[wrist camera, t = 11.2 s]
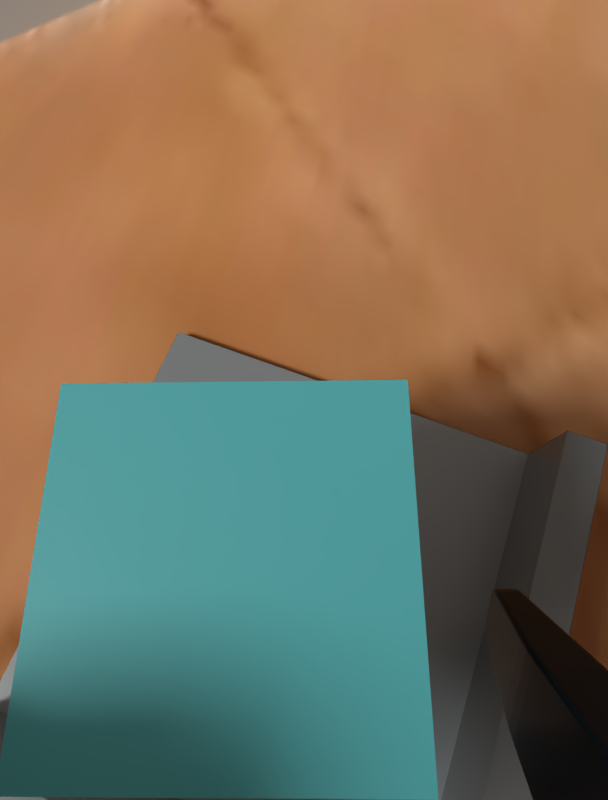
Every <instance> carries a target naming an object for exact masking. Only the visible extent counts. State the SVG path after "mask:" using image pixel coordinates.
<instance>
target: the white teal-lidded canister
mask: <svg viewBox="0 0 608 800" xmlns="http://www.w3.org/2000/svg"><path fill="white" fill-rule="evenodd" d="M0 797H114V798H266V799H418V800H439V799H438V785H437V772H436V758H435V744H434V731H433V717H432V704H431V690H430V676H429V663H428V649H427V635H426V622H425V608H424V594H423V581H422V567H421V554H420V540H419V526H418V513H417V499H416V485H415V472H414V458H413V445H412V431H411V417H410V404H409V390H408V380H348V381H255V382H162V383H68V384H61V388H60V394H59V400H58V407H57V413H56V419H55V425H54V431H53V437H52V443H51V450H50V456H49V462H48V468H47V474H46V480H45V486H44V493H43V499H42V505H41V511H40V517H39V523H38V529H37V536H36V542H35V548H34V554H33V560H32V566H31V573H30V579H29V585H28V591H27V597H26V603H25V609H24V616H23V622H22V628H21V634H20V640H19V646H18V652H17V659H16V665H15V671H14V677H13V683H12V689H11V696H10V702H9V708H8V714H7V720H6V726H5V732H4V739H3V745H2V751H1V757H0Z"/></svg>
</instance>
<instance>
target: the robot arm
mask: <svg viewBox="0 0 608 800" xmlns="http://www.w3.org/2000/svg"><path fill="white" fill-rule="evenodd" d="M485 627H486V636H487V640H488V644H489V649H490V653H491V657H492V661H493V666H494V670H495V674H496V678H497V683H498V687H499V691H500V696H501V700H502V704H503V708H504V712H505V716H506V720H507V724H508V728H509V731H510V734H511V737H512V740H513V743H514V746H515V749H516V752H517V755H518V758H519V761H520V764H521V767H522V769H523V772H524V775H525V778H526V781H527V784H528V787H529V790H530V793H531V796H532V798H533V800H608V670H607V669H606V668H605V667H604V666H603V665H602V664H600V663H599V662H598V661H597V660H596V659H595V658H594V657H593V656H592V655H590V654H589V653H588V652H587V651H586V650H585V649H584V648H583V647H582V646H580V645H579V644H578V643H577V642H576V641H575V640H574V639H573V638H572V637H571V636H569V635H568V634H567V633H566V632H565V631H564V630H563V629H562V628H561V627H559V626H558V625H557V624H556V623H555V622H554V621H553V620H552V619H551V618H549V617H548V616H547V615H546V614H545V613H544V612H543V611H542V610H541V609H540V608H538V607H537V606H536V605H535V604H534V603H533V602H532V601H531V600H530V599H528V598H527V597H526V596H525V595H524V594H523V593H522V592H521V591H519V590H517V589H515V588H496V589H493V591H492V592H491V595H490V600H489V606H488V611H487V617H486V624H485Z"/></svg>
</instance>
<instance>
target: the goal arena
mask: <svg viewBox="0 0 608 800" xmlns="http://www.w3.org/2000/svg"><path fill="white" fill-rule="evenodd" d="M255 381H317V380H314V379H311V378H308V377H306V376H303V375H300V374H297V373H294V372H291V371H288V370H286V369H283V368H280V367H277V366H274V365H271V364H268V363H266V362H263V361H260V360H257V359H254V358H251V357H248V356H245V355H243V354H240V353H237V352H234V351H231V350H228V349H225V348H223V347H220V346H217V345H214V344H211V343H208V342H205V341H203V340H200V339H197V338H194V337H191V336H188V335H185V334H182V333H180V332H178V334H177V336H176V338H175V340H174V342H173V344H172V346H171V348H170V350H169V352H168V354H167V356H166V358H165V360H164V362H163V364H162V366H161V368H160V370H159V372H158V374H157V375H156V377H155V379H154V381H153V383H162V382H255ZM410 417H411V431H412V445H413V458H414V472H415V485H416V499H417V513H418V526H419V540H420V554H421V567H422V581H423V594H424V608H425V622H426V635H427V649H428V663H429V676H430V690H431V704H432V717H433V731H434V744H435V758H436V772H437V785H438V799H439V800H533V798H532V796H531V793H530V790H529V787H528V784H527V781H526V778H525V775H524V772H523V769H522V767H521V764H520V761H519V758H518V755H517V752H516V749H515V746H514V743H513V740H512V737H511V734H510V731H509V728H508V724H507V720H506V716H505V712H504V708H503V704H502V700H501V696H500V691H499V687H498V683H497V678H496V674H495V670H494V666H493V661H492V657H491V653H490V649H489V644H488V640H487V636H486V627H485V624H486V617H487V611H488V606H489V600H490V595H491V592H492V591H493V589H496V588H515V589H517V590H519V591H521V592H522V593H523V594H524V595H525V596H526V597H527V598H528V599H530V600H531V601H532V602H533V603H534V604H535V605H536V606H537V607H538V608H540V609H541V610H542V611H543V612H544V613H545V614H546V615H547V616H548V617H549V618H551V619H552V620H553V621H554V622H555V623H556V624H557V625H558V626H559V627H561V628H562V629H563V630H564V631H565V632H566V633H567V634H568V635H569V633H570V629H571V624H572V619H573V614H574V609H575V604H576V599H577V594H578V589H579V584H580V579H581V574H582V569H583V564H584V559H585V554H586V549H587V544H588V539H589V534H590V529H591V525H592V520H593V515H594V510H595V505H596V500H597V495H598V490H599V485H600V480H601V475H602V470H603V465H604V460H605V455H606V450H607V445H608V444H605V443H602V442H599V441H596V440H593V439H590V438H587V437H584V436H581V435H578V434H575V433H572V432H569V431H567V432H565V433H563V434H561V435H560V436H558V437H556V438H555V439H553V440H551V441H550V442H548V443H546V444H544V445H543V446H541V447H539V448H538V449H536V450H534V451H533V452H531V453H529V454H526V453H523V452H520V451H517V450H515V449H512V448H509V447H506V446H503V445H500V444H497V443H495V442H492V441H489V440H486V439H483V438H480V437H477V436H474V435H472V434H469V433H466V432H463V431H460V430H457V429H454V428H452V427H449V426H446V425H443V424H440V423H437V422H434V421H432V420H429V419H426V418H423V417H420V416H417V415H414V414H412V413H410ZM17 652H18V648H17V650H16V652H15V654H14V655H13V657H12V659H11V661H10V663H9V665H8V667H7V669H6V671H5V673H4V675H3V677H2V679H1V681H0V757H1V751H2V745H3V739H4V732H5V726H6V720H7V714H8V708H9V702H10V696H11V689H12V683H13V677H14V671H15V665H16V659H17ZM0 800H418V799H266V798H114V797H0Z"/></svg>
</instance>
